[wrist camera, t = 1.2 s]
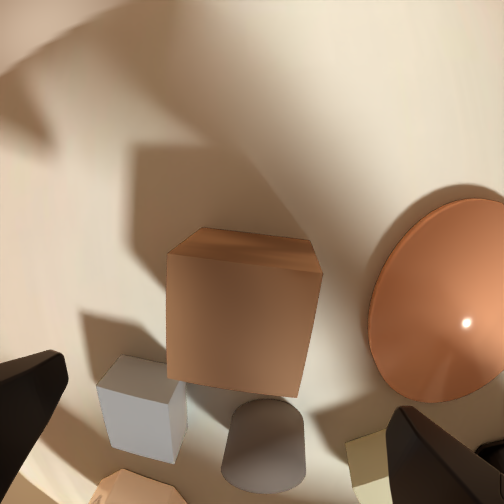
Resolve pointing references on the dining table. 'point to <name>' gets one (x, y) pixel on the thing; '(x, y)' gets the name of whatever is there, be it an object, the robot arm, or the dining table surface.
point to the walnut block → (241, 310)
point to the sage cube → (369, 468)
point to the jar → (134, 490)
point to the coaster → (442, 304)
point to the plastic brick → (143, 408)
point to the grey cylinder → (265, 447)
